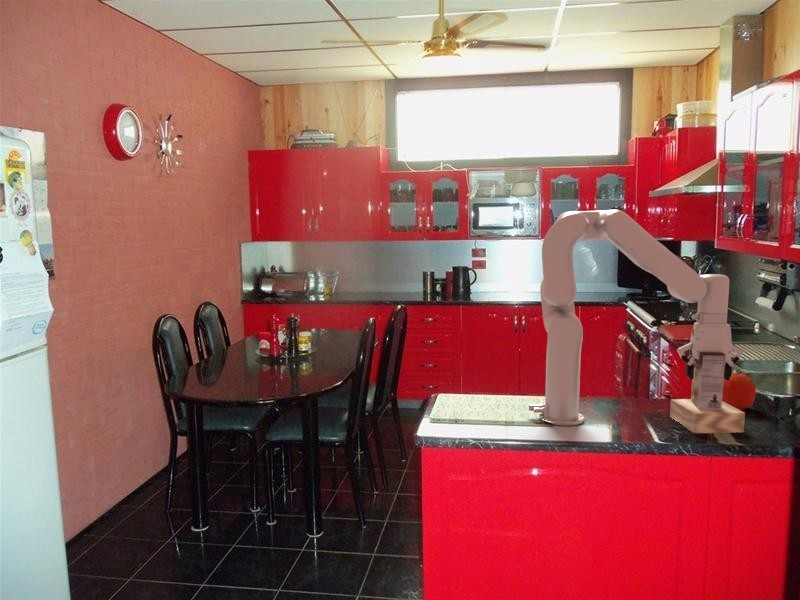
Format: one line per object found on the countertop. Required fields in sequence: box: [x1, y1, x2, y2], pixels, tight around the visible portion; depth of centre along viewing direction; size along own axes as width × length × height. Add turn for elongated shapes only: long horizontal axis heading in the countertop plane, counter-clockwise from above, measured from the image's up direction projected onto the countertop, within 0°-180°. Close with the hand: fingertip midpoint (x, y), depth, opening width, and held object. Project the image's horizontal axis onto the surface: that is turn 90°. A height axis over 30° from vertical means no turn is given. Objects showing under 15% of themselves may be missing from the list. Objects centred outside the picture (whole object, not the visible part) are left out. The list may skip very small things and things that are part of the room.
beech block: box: [669, 398, 746, 434], centre depth 184 cm, size 14×14×6 cm
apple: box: [722, 372, 757, 411], centre depth 200 cm, size 10×10×12 cm
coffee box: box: [690, 352, 725, 411], centre depth 182 cm, size 9×6×16 cm
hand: (708, 378), depth 183 cm, fingers open, 9 cm apart
